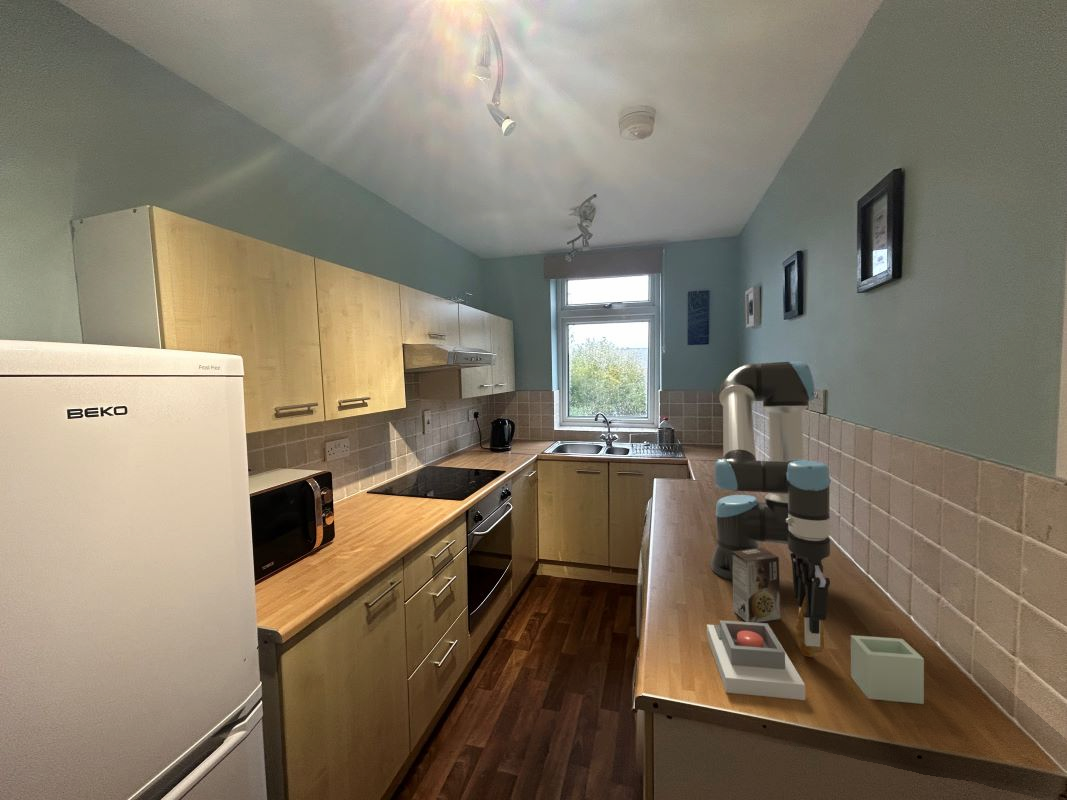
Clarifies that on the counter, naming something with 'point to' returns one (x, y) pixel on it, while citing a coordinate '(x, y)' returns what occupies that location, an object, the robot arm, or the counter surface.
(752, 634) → the pink dome
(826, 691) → the counter surface
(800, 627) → the stone tool
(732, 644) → the panel
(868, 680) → the box
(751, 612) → the coffee box
